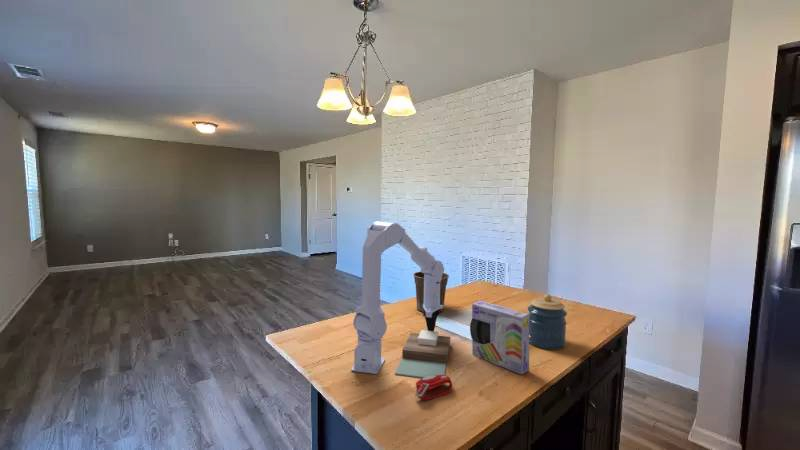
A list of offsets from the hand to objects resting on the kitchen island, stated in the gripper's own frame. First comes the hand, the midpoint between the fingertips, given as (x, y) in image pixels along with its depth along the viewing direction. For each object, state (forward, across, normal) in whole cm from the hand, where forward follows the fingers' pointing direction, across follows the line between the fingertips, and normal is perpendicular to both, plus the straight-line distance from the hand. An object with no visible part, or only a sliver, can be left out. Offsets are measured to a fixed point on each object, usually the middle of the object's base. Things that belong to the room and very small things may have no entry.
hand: (431, 330), depth 124 cm
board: (+4, -9, 0) cm, 10 cm away
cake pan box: (+4, -10, -22) cm, 25 cm away
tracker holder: (+4, -31, -4) cm, 32 cm away
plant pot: (+4, +35, +5) cm, 36 cm away
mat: (+4, -21, 0) cm, 21 cm away
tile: (+1, -7, 0) cm, 7 cm away
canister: (+4, +9, -40) cm, 41 cm away
